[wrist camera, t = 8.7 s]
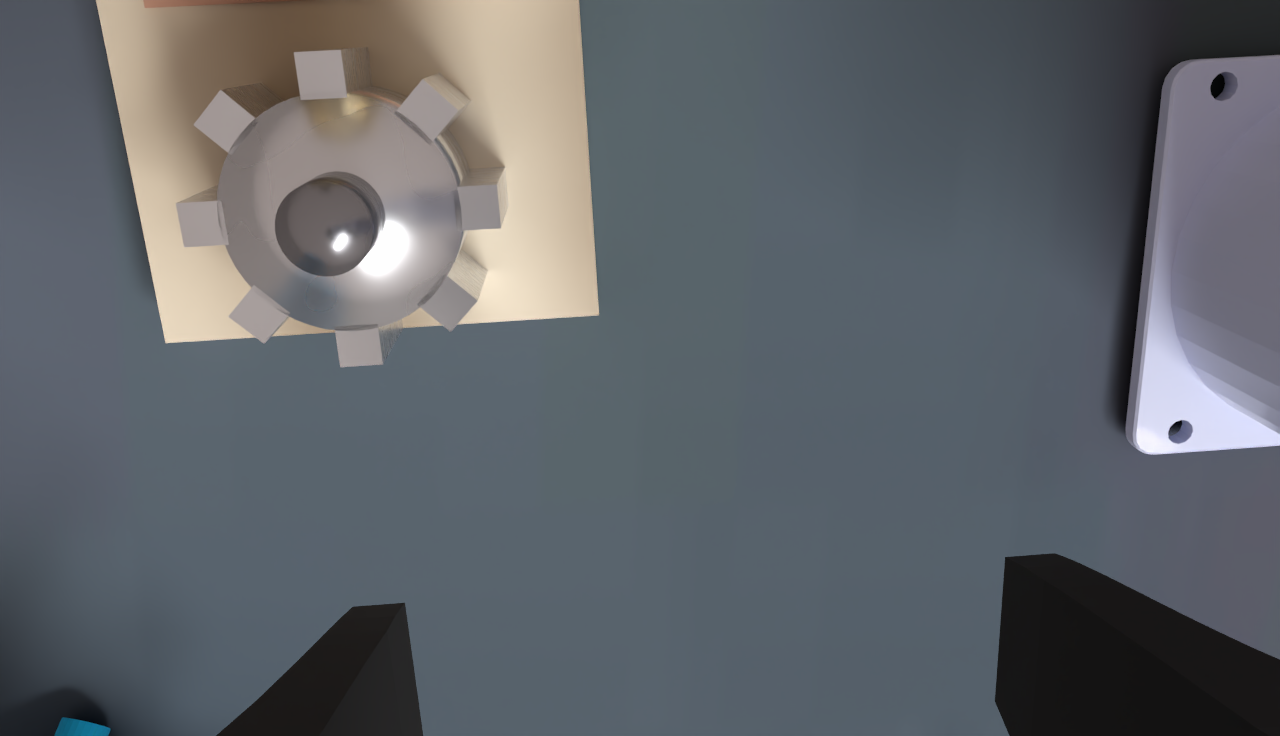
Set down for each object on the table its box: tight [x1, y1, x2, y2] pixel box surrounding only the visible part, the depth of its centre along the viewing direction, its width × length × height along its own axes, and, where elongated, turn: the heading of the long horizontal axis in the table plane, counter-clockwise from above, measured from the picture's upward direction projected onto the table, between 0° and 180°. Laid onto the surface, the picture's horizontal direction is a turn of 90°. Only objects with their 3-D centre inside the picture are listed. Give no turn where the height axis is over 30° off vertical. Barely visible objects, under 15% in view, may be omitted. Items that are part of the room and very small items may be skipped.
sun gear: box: [176, 47, 509, 367], centre depth 17 cm, size 5×5×3 cm
